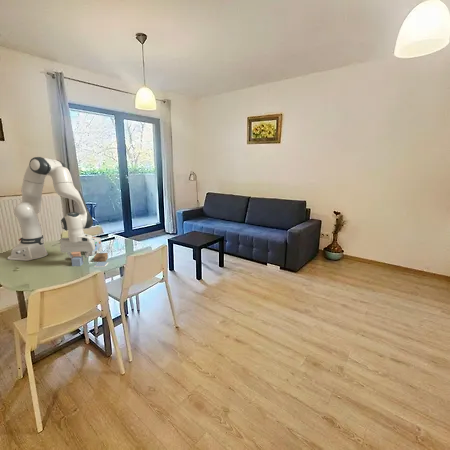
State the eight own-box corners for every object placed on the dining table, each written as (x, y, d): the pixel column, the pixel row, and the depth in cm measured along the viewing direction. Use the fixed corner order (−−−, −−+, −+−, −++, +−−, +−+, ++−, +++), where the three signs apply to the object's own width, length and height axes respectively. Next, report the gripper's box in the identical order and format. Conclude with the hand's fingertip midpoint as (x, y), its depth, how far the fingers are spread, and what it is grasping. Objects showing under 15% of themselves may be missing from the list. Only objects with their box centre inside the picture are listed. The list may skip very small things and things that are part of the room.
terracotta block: (71, 260, 172) (71, 254, 171) (73, 258, 177) (72, 251, 176) (80, 260, 174) (79, 253, 173) (81, 257, 179) (80, 250, 177)
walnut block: (94, 262, 172) (93, 256, 171) (97, 258, 178) (96, 253, 177) (105, 261, 173) (105, 256, 172) (107, 258, 180) (107, 252, 179)
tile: (94, 267, 164) (94, 266, 164) (97, 262, 170) (97, 262, 170) (105, 266, 165) (105, 265, 165) (108, 262, 171) (108, 261, 171)
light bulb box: (92, 255, 182) (91, 241, 180) (84, 254, 183) (82, 240, 181) (102, 251, 192) (101, 237, 190) (94, 250, 194) (93, 236, 191)
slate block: (72, 266, 164) (71, 259, 163) (75, 263, 169) (74, 256, 167) (80, 266, 164) (79, 259, 163) (83, 263, 169) (82, 256, 168)
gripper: (56, 239, 158) (60, 260, 162) (91, 238, 161) (94, 258, 165) (61, 236, 164) (64, 256, 168) (94, 235, 167) (97, 255, 171)
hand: (79, 257), depth 166 cm, fingers open, 8 cm apart
